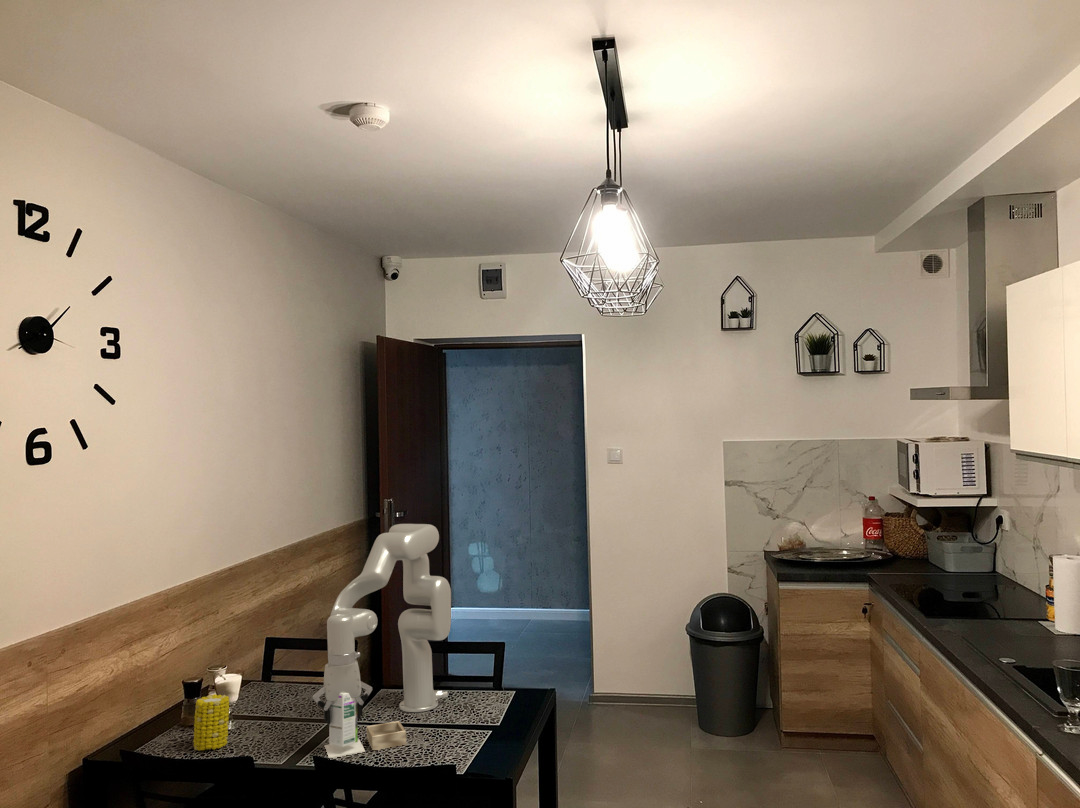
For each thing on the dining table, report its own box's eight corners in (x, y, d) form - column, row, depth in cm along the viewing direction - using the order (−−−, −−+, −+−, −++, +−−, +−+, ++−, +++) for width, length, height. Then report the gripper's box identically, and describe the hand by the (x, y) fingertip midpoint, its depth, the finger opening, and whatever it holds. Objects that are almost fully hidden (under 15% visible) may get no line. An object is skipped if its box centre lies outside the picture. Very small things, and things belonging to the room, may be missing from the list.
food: (187, 755, 242) (216, 745, 250) (213, 752, 236) (242, 742, 245) (180, 701, 245) (210, 693, 253) (206, 697, 239) (235, 689, 247)
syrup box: (342, 747, 232) (343, 693, 234) (328, 744, 236) (329, 691, 237) (357, 742, 237) (358, 689, 238) (343, 739, 240) (344, 687, 242)
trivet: (359, 741, 243) (359, 739, 243) (365, 753, 234) (365, 750, 234) (324, 747, 240) (324, 745, 240) (328, 759, 230) (328, 757, 230)
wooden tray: (399, 734, 248) (398, 720, 248) (406, 745, 239) (406, 731, 239) (367, 740, 244) (366, 726, 244) (372, 751, 235) (372, 737, 235)
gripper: (369, 651, 244) (371, 711, 244) (308, 659, 238) (310, 721, 237) (374, 657, 237) (376, 719, 237) (311, 666, 231) (313, 730, 230)
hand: (343, 720), depth 237 cm, fingers closed on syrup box, 8 cm apart
